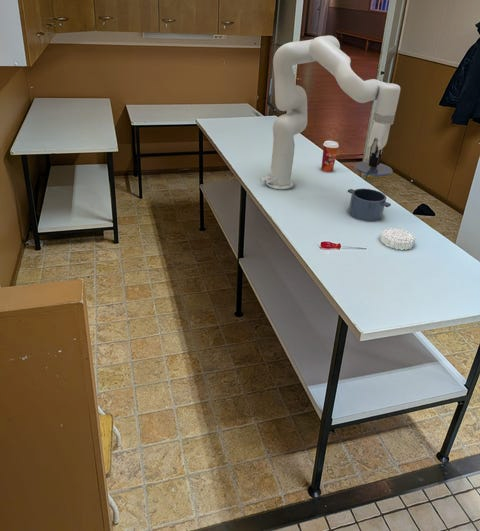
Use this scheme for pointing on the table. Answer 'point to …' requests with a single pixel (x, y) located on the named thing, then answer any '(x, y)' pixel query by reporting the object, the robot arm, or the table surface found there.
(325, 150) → the paper cup
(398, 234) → the mooncake
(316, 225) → the table surface
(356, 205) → the pot
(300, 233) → the table surface
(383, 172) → the lid
